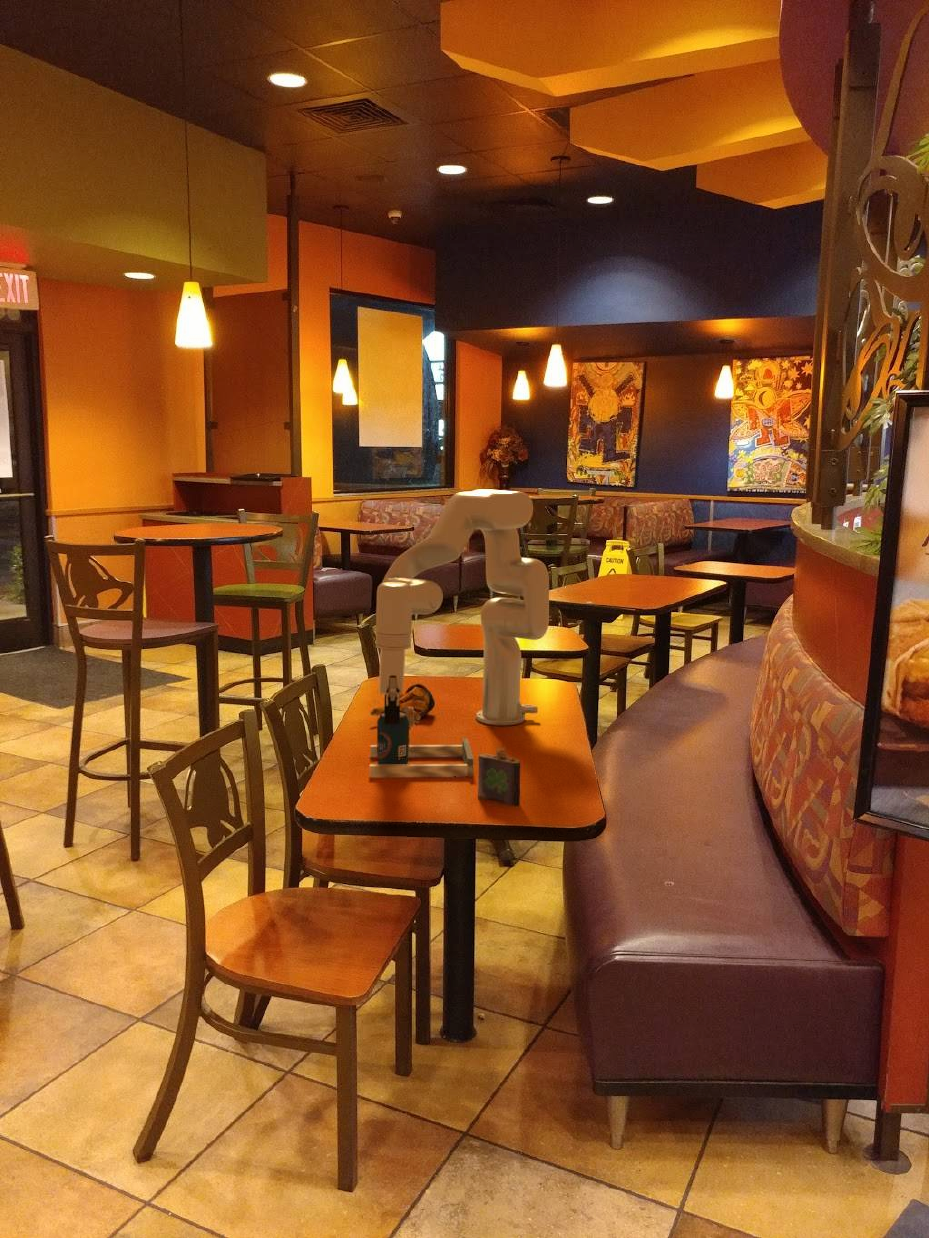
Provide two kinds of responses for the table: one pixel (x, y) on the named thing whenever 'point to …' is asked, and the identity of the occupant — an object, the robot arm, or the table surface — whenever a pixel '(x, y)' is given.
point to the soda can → (393, 740)
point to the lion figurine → (411, 716)
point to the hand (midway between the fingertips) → (391, 717)
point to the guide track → (427, 769)
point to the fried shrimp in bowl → (413, 700)
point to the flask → (499, 778)
